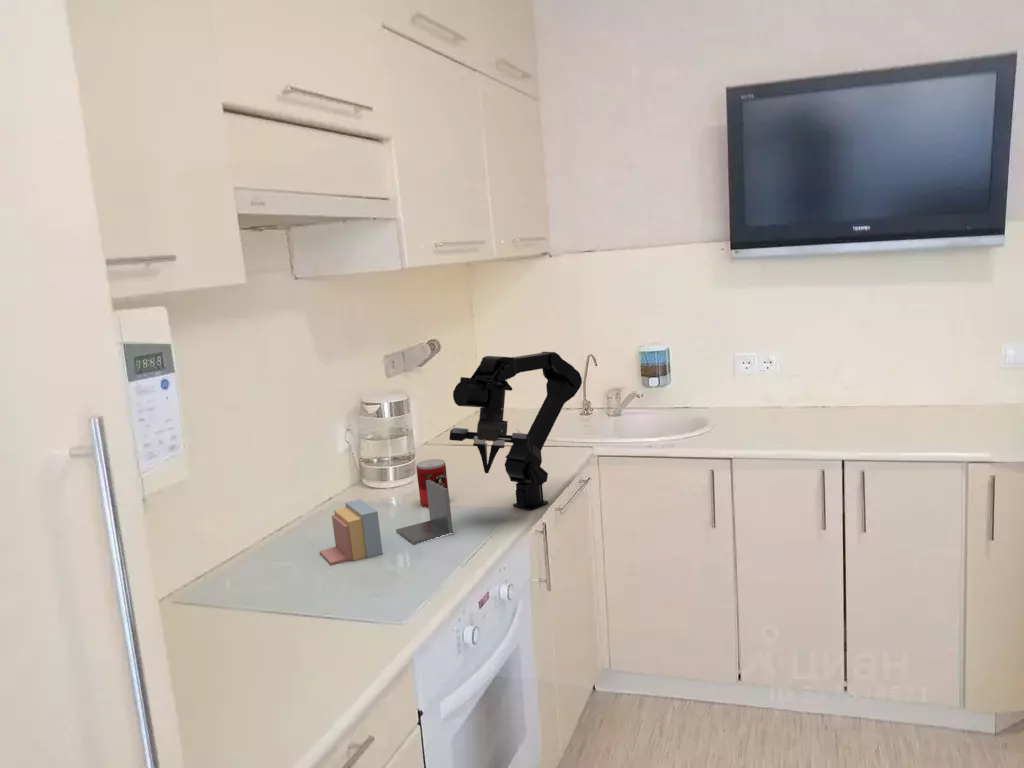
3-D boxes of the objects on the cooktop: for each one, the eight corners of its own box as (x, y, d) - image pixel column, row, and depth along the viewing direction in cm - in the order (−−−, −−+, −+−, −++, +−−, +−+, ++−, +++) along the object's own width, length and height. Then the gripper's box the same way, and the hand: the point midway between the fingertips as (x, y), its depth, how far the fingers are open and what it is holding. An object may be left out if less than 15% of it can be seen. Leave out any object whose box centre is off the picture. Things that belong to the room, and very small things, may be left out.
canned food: (430, 509, 213) (425, 468, 212) (415, 503, 220) (410, 463, 218) (455, 502, 218) (451, 461, 216) (439, 496, 224) (435, 457, 222)
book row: (365, 539, 195) (360, 499, 194) (382, 553, 185) (377, 511, 183) (317, 551, 190) (312, 510, 188) (333, 567, 180) (327, 523, 178)
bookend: (434, 522, 203) (429, 479, 201) (453, 534, 194) (448, 489, 192) (396, 532, 199) (391, 488, 197) (413, 545, 189) (408, 499, 187)
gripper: (449, 405, 191) (443, 473, 191) (530, 412, 190) (524, 480, 190) (454, 404, 202) (449, 468, 202) (531, 411, 201) (525, 475, 201)
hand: (486, 473), depth 198 cm, fingers closed
